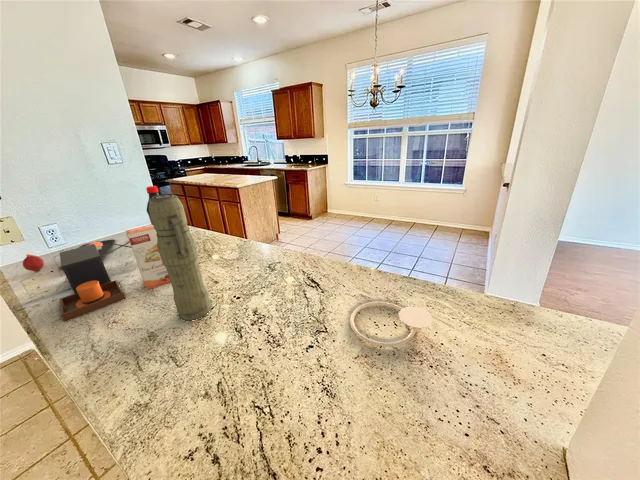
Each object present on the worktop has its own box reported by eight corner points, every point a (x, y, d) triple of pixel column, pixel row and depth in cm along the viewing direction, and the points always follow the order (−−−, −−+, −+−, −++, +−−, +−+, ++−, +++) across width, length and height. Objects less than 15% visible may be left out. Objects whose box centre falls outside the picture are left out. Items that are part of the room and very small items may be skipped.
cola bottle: (185, 250, 121) (167, 184, 109) (167, 257, 114) (146, 189, 102) (174, 247, 125) (155, 183, 113) (156, 254, 118) (135, 187, 106)
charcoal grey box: (76, 297, 88) (61, 266, 84) (73, 281, 99) (59, 252, 95) (112, 285, 95) (100, 255, 90) (105, 271, 106) (94, 243, 101)
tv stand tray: (64, 322, 77) (60, 315, 76) (62, 305, 85) (59, 298, 84) (125, 298, 86) (123, 292, 85) (118, 285, 95) (116, 279, 94)
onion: (32, 270, 110) (22, 252, 107) (49, 266, 112) (41, 249, 109) (24, 276, 105) (14, 258, 102) (43, 272, 107) (34, 255, 104)
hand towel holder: (358, 287, 78) (433, 299, 71) (358, 300, 80) (431, 313, 72) (341, 324, 63) (433, 345, 56) (342, 339, 65) (431, 360, 58)
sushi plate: (82, 248, 129) (79, 241, 128) (152, 235, 141) (150, 229, 139) (58, 274, 105) (53, 265, 104) (144, 256, 116) (141, 249, 115)
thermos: (200, 297, 85) (170, 190, 71) (220, 311, 78) (191, 194, 64) (172, 312, 79) (134, 197, 65) (190, 328, 72) (152, 203, 58)
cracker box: (147, 291, 90) (126, 234, 82) (144, 284, 94) (124, 229, 86) (190, 276, 98) (175, 223, 90) (185, 270, 102) (171, 219, 94)
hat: (77, 313, 80) (69, 297, 77) (75, 301, 86) (67, 285, 83) (113, 299, 85) (106, 284, 83) (109, 289, 91) (102, 274, 89)
